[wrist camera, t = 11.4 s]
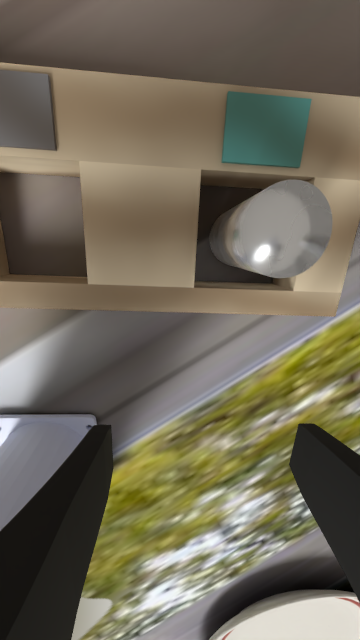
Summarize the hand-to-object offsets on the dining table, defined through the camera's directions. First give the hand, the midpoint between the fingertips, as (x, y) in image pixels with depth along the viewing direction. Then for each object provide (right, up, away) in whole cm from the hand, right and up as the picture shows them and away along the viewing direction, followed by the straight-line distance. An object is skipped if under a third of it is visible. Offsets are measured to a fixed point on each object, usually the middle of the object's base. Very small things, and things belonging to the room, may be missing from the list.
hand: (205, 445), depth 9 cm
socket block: (-3, +11, +6) cm, 13 cm away
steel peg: (+3, +10, +7) cm, 13 cm away
